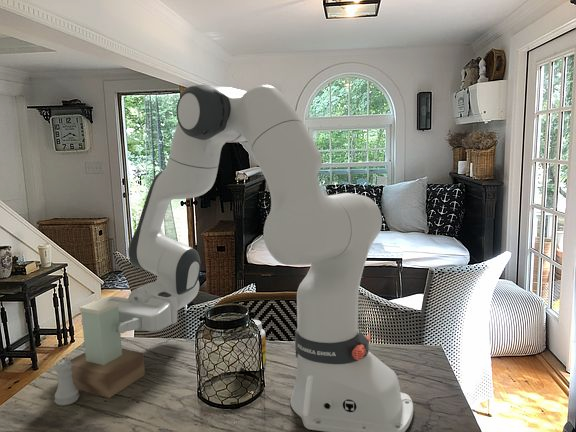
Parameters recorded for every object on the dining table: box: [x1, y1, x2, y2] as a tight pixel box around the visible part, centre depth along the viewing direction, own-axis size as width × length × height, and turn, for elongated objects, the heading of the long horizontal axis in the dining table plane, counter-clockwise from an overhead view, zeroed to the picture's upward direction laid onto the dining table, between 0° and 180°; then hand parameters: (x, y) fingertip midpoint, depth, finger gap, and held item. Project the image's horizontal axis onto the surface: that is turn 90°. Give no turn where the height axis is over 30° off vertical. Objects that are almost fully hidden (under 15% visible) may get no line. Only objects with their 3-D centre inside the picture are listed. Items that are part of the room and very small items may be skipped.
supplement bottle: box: [252, 319, 267, 369], centre depth 102 cm, size 6×6×10 cm
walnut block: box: [70, 347, 146, 399], centre depth 99 cm, size 12×10×5 cm
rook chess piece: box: [54, 358, 80, 407], centre depth 91 cm, size 4×4×8 cm
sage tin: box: [78, 298, 123, 365], centre depth 97 cm, size 5×5×12 cm
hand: (100, 326), depth 97 cm, fingers open, 8 cm apart
